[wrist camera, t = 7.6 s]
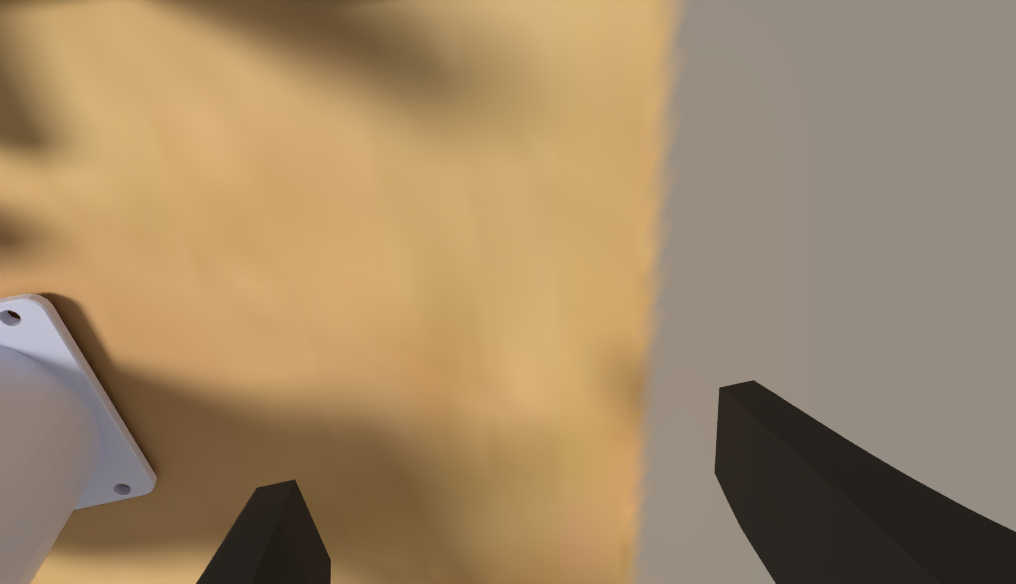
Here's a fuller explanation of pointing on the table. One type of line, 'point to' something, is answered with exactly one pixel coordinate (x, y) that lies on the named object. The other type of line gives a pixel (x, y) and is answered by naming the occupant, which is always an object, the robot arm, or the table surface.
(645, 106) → the table surface
